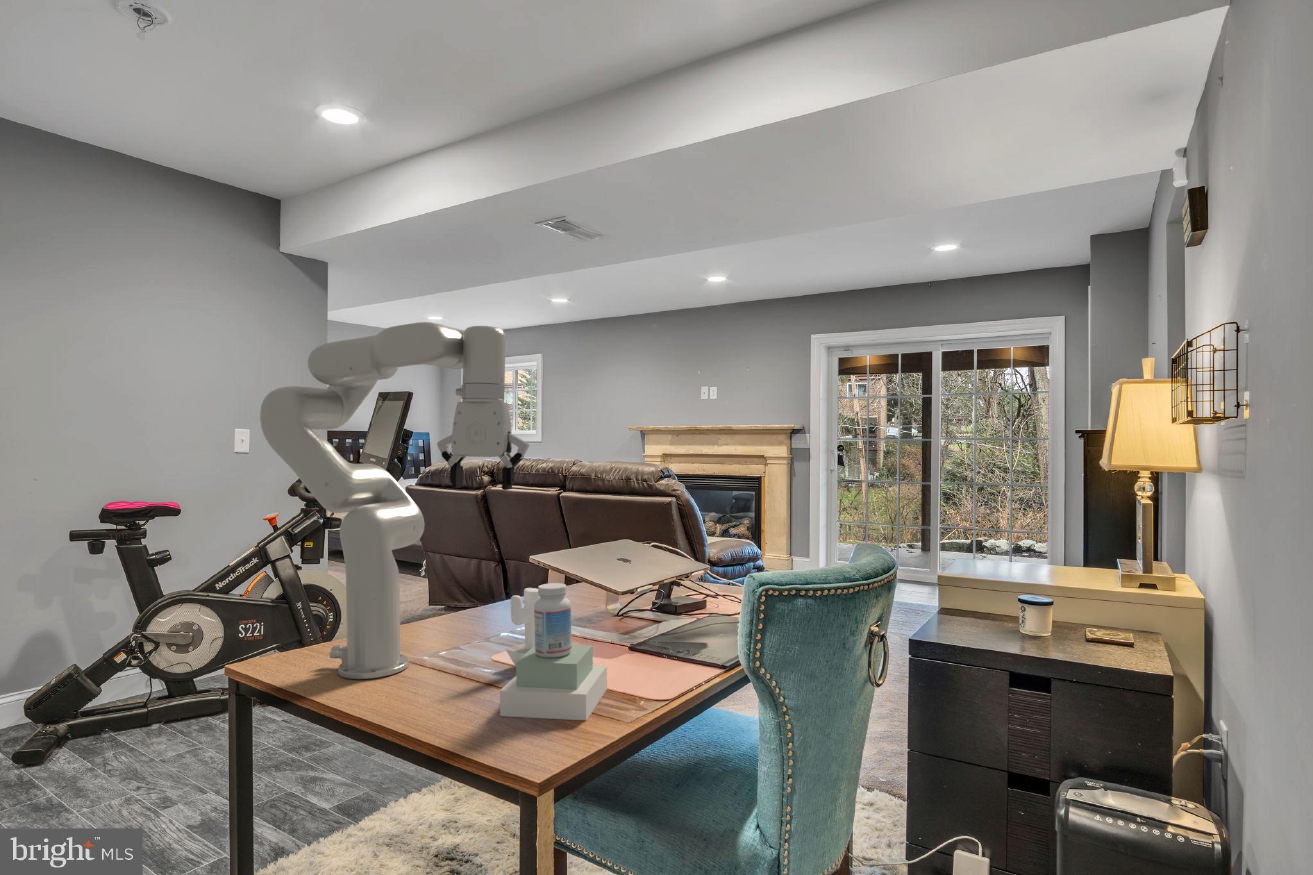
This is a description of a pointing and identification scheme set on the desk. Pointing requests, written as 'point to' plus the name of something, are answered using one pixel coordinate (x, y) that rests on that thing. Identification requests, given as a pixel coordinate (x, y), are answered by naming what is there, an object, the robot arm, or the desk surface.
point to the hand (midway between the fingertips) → (482, 488)
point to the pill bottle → (552, 621)
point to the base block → (554, 699)
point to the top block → (555, 669)
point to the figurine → (523, 621)
